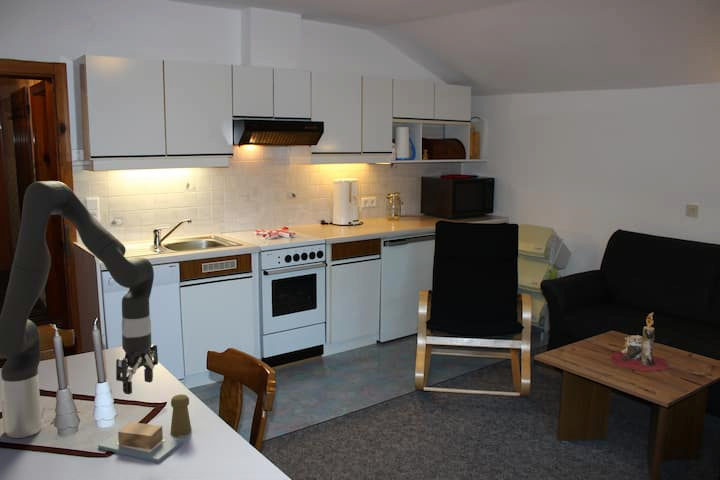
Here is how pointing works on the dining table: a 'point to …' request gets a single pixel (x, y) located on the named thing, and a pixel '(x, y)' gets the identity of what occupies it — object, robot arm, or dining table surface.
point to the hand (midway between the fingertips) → (138, 387)
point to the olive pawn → (180, 416)
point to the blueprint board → (155, 454)
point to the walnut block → (140, 435)
